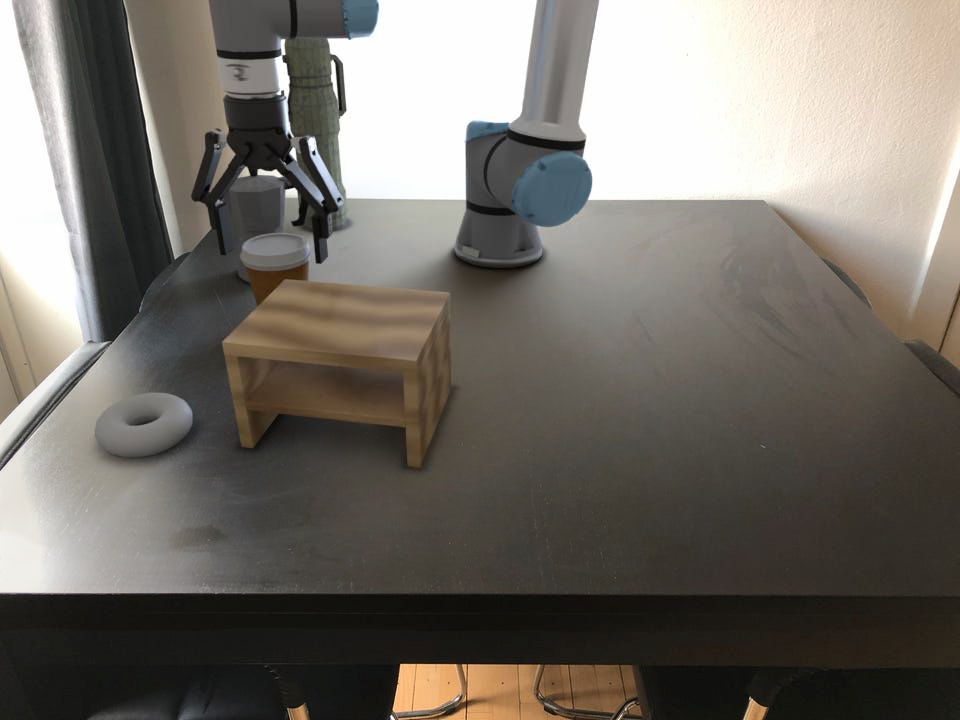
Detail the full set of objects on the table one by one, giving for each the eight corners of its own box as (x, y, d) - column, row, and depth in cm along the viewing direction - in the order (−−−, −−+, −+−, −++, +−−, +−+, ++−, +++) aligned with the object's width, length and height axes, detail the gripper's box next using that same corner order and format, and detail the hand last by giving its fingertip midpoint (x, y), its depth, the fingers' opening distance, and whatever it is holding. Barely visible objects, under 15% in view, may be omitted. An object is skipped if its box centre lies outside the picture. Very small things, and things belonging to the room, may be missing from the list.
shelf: (297, 373, 94) (285, 279, 88) (451, 388, 91) (450, 292, 85) (241, 447, 80) (221, 342, 74) (420, 468, 78) (416, 360, 71)
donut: (96, 426, 84) (101, 474, 76) (88, 400, 82) (93, 446, 74) (188, 404, 88) (202, 448, 80) (182, 379, 86) (196, 421, 78)
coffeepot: (229, 290, 116) (210, 176, 107) (222, 268, 123) (204, 160, 114) (327, 276, 121) (316, 166, 112) (315, 255, 128) (304, 151, 120)
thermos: (363, 225, 142) (348, 26, 125) (305, 236, 137) (281, 30, 119) (343, 212, 149) (327, 22, 131) (287, 223, 143) (262, 25, 125)
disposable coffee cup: (303, 341, 101) (293, 259, 95) (239, 334, 103) (225, 253, 97) (329, 311, 109) (321, 234, 103) (269, 305, 111) (258, 229, 105)
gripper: (143, 93, 89) (175, 258, 100) (342, 104, 86) (353, 274, 96) (175, 83, 95) (202, 239, 106) (361, 93, 92) (370, 253, 103)
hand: (274, 256), depth 101 cm, fingers open, 13 cm apart
